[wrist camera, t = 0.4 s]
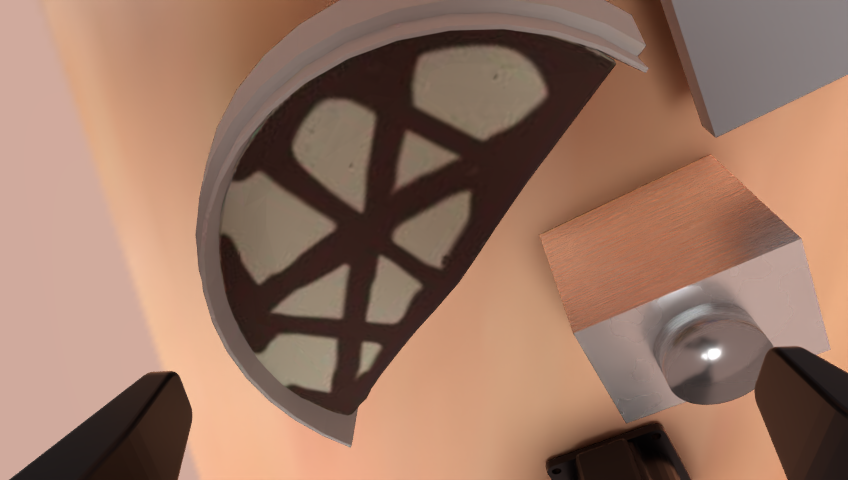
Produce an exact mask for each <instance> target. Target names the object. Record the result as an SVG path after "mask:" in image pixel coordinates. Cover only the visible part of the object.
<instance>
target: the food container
mask: <svg viewBox="0 0 848 480" xmlns="http://www.w3.org/2000/svg"><path fill="white" fill-rule="evenodd" d="M645 46H646V44H645V42H644V40H643V38H642V36H641V34H640V32H639V29H638V27H637V25H636V23H635V21H634V19H633V17H632V15H631V14H629V13H627V12H625V11H623V10H621V9H620V8H618V7H616V6H614V5H612V4H611V3H609V2H607V1H605V0H339V1H338V2H336V3H334V4H333V5H331V6H329V7H328V8H326V9H324V10H323V11H321V12H319V13H318V14H316V15H314V16H313V17H311V18H309V19H308V20H306V21H304V22H303V23H301V24H299V25H298V26H297V27H296V28H295V29H294V30H292V31H291V32H290V33H289V34H288V35H287V36H286V37H284V38H283V39H282V40H281V41H280V42H279V43H278V44H276V45H275V46H274V47H273V48H272V49H271V50H270V51H268V52H267V53H266V54H265V55H264V56H263V57H262V58H261V60H260V61H259V62H258V64H257V65H256V66H255V67H254V69H253V70H252V71H251V72H250V74H249V75H248V76H247V77H246V79H245V80H244V81H243V83H242V84H241V85H240V86H239V88H238V89H237V90H236V92H235V94H234V96H233V98H232V100H231V102H230V103H229V105H228V107H227V109H226V111H225V113H224V115H223V117H222V119H221V121H220V123H219V125H218V127H217V129H216V133H215V136H214V140H213V143H212V146H211V150H210V153H209V156H208V160H207V163H206V167H205V172H204V177H203V182H202V187H201V192H200V197H199V207H198V217H197V226H196V244H197V255H198V266H199V272H200V276H201V279H202V285H203V292H204V295H205V299H206V302H207V306H208V309H209V313H210V316H211V319H212V323H213V325H214V327H215V329H216V331H217V333H218V335H219V337H220V339H221V341H222V343H223V345H224V347H225V349H226V351H227V352H228V354H229V355H230V356H231V358H232V359H233V361H234V362H235V363H236V365H237V366H238V367H239V369H240V370H241V371H242V373H243V374H244V376H245V377H246V378H247V379H248V380H249V381H250V382H251V383H252V384H253V385H254V386H255V387H256V388H257V389H258V390H259V391H260V392H261V393H262V394H263V395H264V396H265V397H266V398H267V399H268V400H269V401H270V402H271V403H273V404H274V405H275V406H277V407H278V408H279V409H281V410H282V411H283V412H285V413H286V414H287V415H289V416H290V417H291V418H293V419H294V420H295V421H297V422H299V423H301V424H303V425H304V426H306V427H308V428H310V429H312V430H313V431H315V432H317V433H319V434H320V435H322V436H324V437H327V438H329V439H331V440H334V441H336V442H338V443H341V444H343V445H346V446H348V447H351V446H352V440H353V434H354V428H355V422H356V416H357V409H358V407H359V405H360V404H361V403H362V402H363V401H364V400H365V399H366V398H367V396H368V394H369V392H370V390H371V388H372V387H373V385H374V384H375V382H376V381H377V380H378V378H379V377H380V375H381V374H382V373H383V371H384V370H385V369H386V368H387V366H388V365H389V364H390V362H391V361H392V360H393V359H394V357H395V356H396V355H397V353H398V352H399V351H400V350H401V348H402V347H403V346H404V345H405V344H406V342H407V341H408V340H409V339H410V338H411V336H412V335H413V334H414V333H415V332H416V330H417V329H418V328H419V327H420V326H421V325H422V324H423V323H424V322H425V321H426V319H427V318H428V317H429V316H430V315H431V314H432V313H433V312H434V311H435V310H436V308H437V307H438V306H439V305H440V304H441V303H442V301H443V300H444V299H445V298H446V297H447V296H448V294H449V293H450V292H451V291H452V290H453V289H454V288H455V286H456V285H457V284H458V283H459V282H460V280H461V279H462V277H463V276H464V274H465V273H466V271H467V270H468V269H469V267H470V266H471V264H472V263H473V261H474V260H475V258H476V257H477V255H478V254H479V252H480V251H481V249H482V248H483V246H484V245H485V243H486V242H487V240H488V239H489V237H490V236H491V234H492V232H493V231H494V229H495V228H496V226H497V225H498V224H499V222H500V221H501V219H502V218H503V216H504V215H505V213H506V212H507V211H508V209H509V208H510V206H511V205H512V203H513V202H514V200H515V199H516V198H517V196H518V195H519V193H520V192H521V190H522V189H523V188H524V186H525V185H526V183H527V182H528V180H529V179H530V178H531V176H532V175H533V174H534V172H535V171H536V170H537V168H538V167H539V166H540V164H541V163H542V162H543V160H544V159H545V158H546V156H547V155H548V154H549V152H550V151H551V150H552V149H553V147H554V146H555V145H556V143H557V142H558V141H559V139H560V138H561V137H562V135H563V134H564V133H565V131H566V130H567V129H568V127H569V126H570V125H571V123H572V122H573V121H574V119H575V118H576V117H577V115H578V114H579V113H580V111H581V110H582V109H583V107H584V106H585V105H586V103H587V102H588V101H589V99H590V98H591V97H592V95H593V94H594V93H595V91H596V90H597V89H598V87H599V86H600V85H601V83H602V82H603V81H604V79H605V78H606V77H607V76H608V74H609V73H610V72H611V70H612V69H613V68H614V66H615V65H616V63H615V61H614V60H613V59H612V58H614V59H616V60H618V61H621V62H623V63H625V64H627V65H629V66H632V67H634V68H636V69H638V70H640V71H643V72H645V73H646V72H647V70H648V69H649V68H648V67H647V66H646V65H645V64H644V63H643V62H642V61H641V60H640V59H639V58H638V57H637V56H638V55H639V54H640V53H641V52H642V50H643V49H644V48H645ZM608 56H610V57H612V58H610V57H608Z"/></svg>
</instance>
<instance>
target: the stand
mask: <svg viewBox="0 0 848 480" xmlns="http://www.w3.org/2000/svg"><path fill="white" fill-rule="evenodd" d="M660 1H661V4H662V7H663V10H664V13H665V16H666V19H667V22H668V25H669V28H670V31H671V34H672V37H673V40H674V43H675V46H676V49H677V52H678V55H679V58H680V61H681V64H682V67H683V70H684V73H685V76H686V79H687V82H688V85H689V88H690V91H691V94H692V97H693V100H694V103H695V106H696V109H697V112H698V115H699V118H700V121H701V124H702V126H703V127H704V128H705V129H706V130H708V131H709V132H710V133H711V134H712V135H713V136H715V137H718V136H720V135H723V134H725V133H727V132H729V131H731V130H733V129H735V128H737V127H739V126H741V125H743V124H745V123H748V122H750V121H752V120H754V119H756V118H758V117H760V116H762V115H764V114H766V113H768V112H771V111H773V110H775V109H777V108H779V107H781V106H783V105H785V104H787V103H789V102H791V101H794V100H796V99H798V98H800V97H802V96H804V95H806V94H808V93H810V92H812V91H814V90H816V89H819V88H821V87H823V86H825V85H827V84H829V83H831V82H833V81H835V80H837V79H839V78H842V77H844V76H846V75H848V0H660Z"/></svg>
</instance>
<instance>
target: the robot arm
mask: <svg viewBox="0 0 848 480" xmlns="http://www.w3.org/2000/svg"><path fill="white" fill-rule="evenodd" d="M754 392H755V399H756V402H757V405H758V408H759V410H760V412H761V415H762V417H763V420H764V422H765V425H766V427H767V430H768V432H769V435H770V437H771V440H772V442H773V445H774V447H775V450H776V452H777V454H778V457H779V459H780V462H781V464H782V467H783V469H784V472H785V474H786V477H787V479H788V480H848V373H847V372H845V371H843V370H842V369H840V368H838V367H836V366H835V365H833V364H831V363H829V362H828V361H826V360H824V359H822V358H821V357H819V356H817V355H815V354H813V353H812V352H810V351H808V350H806V349H804V348H802V347H799V346H782V347H773V348H770V349H769V350H768V351H767V353H766V355H765V358H764V360H763V363H762V366H761V369H760V372H759V375H758V378H757V381H756V384H755V391H754ZM191 423H192V409H191V405H190V403H189V400H188V397H187V395H186V392H185V389H184V387H183V384H182V381H181V379H180V377H179V375H178V374H177V373H176V372H173V371H162V372H150V373H147V374H146V375H144V376H143V377H141V378H140V379H139V380H137V381H136V382H135V383H134V384H132V385H131V386H130V387H128V388H127V389H126V390H125V391H123V392H122V393H121V394H119V395H118V396H117V397H116V398H114V399H113V400H112V401H110V402H109V403H108V404H106V405H105V406H104V407H103V408H101V409H100V410H99V411H97V412H96V413H95V414H93V415H92V416H91V417H90V418H88V419H87V420H86V421H85V422H83V423H82V424H81V425H79V426H78V427H77V428H75V429H74V430H73V431H72V432H70V433H69V434H68V435H66V436H65V437H64V438H63V439H61V440H60V441H59V442H57V443H56V444H55V445H54V446H52V447H51V448H50V449H48V450H47V451H46V452H45V453H44V454H42V455H41V456H39V457H38V458H37V459H35V460H34V461H33V462H31V463H30V464H29V465H28V466H26V467H25V468H24V469H23V470H21V471H20V472H19V473H17V474H16V475H15V476H13V477H12V478H11V479H10V480H178V476H179V473H180V468H181V464H182V460H183V456H184V452H185V448H186V444H187V440H188V436H189V432H190V428H191ZM546 469H547V473H548V475H549V476H550V478H551V479H552V480H691V478H690V476H689V474H688V472H687V471H686V469H685V467H684V465H683V463H682V461H681V459H680V457H679V456H678V454H677V452H676V450H675V448H674V446H673V444H672V443H671V441H670V439H669V437H668V435H667V433H666V431H665V430H664V428H663V426H662V425H660V424H650V425H648V426H645V427H642V428H639V429H636V430H634V431H631V432H628V433H625V434H622V435H620V436H617V437H614V438H611V439H608V440H606V441H603V442H600V443H597V444H594V445H591V446H589V447H586V448H583V449H580V450H577V451H575V452H572V453H569V454H566V455H563V456H561V457H558V458H555V459H552V460H550V461H548V462H547V463H546Z"/></svg>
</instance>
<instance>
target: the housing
mask: <svg viewBox="0 0 848 480" xmlns="http://www.w3.org/2000/svg"><path fill="white" fill-rule="evenodd" d="M539 236H540V239H541V242H542V244H543V247H544V250H545V253H546V256H547V259H548V262H549V265H550V268H551V270H552V273H553V276H554V279H555V282H556V285H557V288H558V291H559V293H560V296H561V299H562V302H563V305H564V308H565V311H566V314H567V316H568V319H569V322H570V325H571V328H572V331H573V334H574V335H575V337H576V339H577V340H578V342H579V344H580V346H581V347H582V349H583V351H584V352H585V354H586V356H587V357H588V359H589V361H590V363H591V364H592V366H593V368H594V369H595V371H596V373H597V374H598V376H599V378H600V380H601V381H602V383H603V385H604V386H605V388H606V390H607V392H608V393H609V395H610V397H611V398H612V400H613V402H614V403H615V405H616V407H617V409H618V410H619V412H620V414H621V415H622V417H623V419H624V420H625V422H626V423H629V422H632V421H634V420H637V419H640V418H643V417H645V416H648V415H651V414H654V413H657V412H659V411H662V410H665V409H668V408H670V407H673V406H676V405H679V404H681V403H684V402H690V403H694V404H701V405H710V404H719V403H724V402H728V401H731V400H734V399H737V398H739V397H741V396H744V395H746V394H747V393H749V392H751V391H752V390H754V389H755V384H756V381H757V378H758V375H759V372H760V369H761V366H762V363H763V360H764V358H765V355H766V353H767V351H768V350H769V349H770V348H773V347H782V346H799V347H802V348H804V349H806V350H808V351H810V352H812V353H813V354H815V355H817V354H820V353H822V352H825V351H828V350H831V349H830V345H829V341H828V337H827V334H826V330H825V326H824V322H823V319H822V315H821V311H820V307H819V303H818V300H817V296H816V292H815V288H814V284H813V281H812V277H811V273H810V269H809V265H808V262H807V258H806V254H805V250H804V247H803V243H802V239H801V238H800V237H799V236H798V235H797V234H796V233H795V232H794V231H793V230H792V229H790V228H789V227H788V226H787V225H786V224H785V223H784V222H783V221H782V220H781V219H780V218H779V217H778V216H776V215H775V214H774V213H773V212H772V211H771V210H770V209H769V208H768V207H767V206H766V205H765V204H764V203H762V202H761V201H760V200H759V199H758V198H757V197H756V196H755V195H754V194H753V193H752V192H751V191H750V190H749V189H747V188H746V187H745V186H744V185H743V184H742V183H741V182H740V181H739V180H738V179H737V178H736V177H735V176H733V175H732V174H731V173H730V172H729V171H728V170H727V169H726V168H725V167H724V166H723V165H722V164H721V163H719V162H718V161H717V160H716V159H715V158H714V157H713V156H712V155H711V154H710V155H708V156H705V157H703V158H701V159H699V160H697V161H695V162H693V163H691V164H689V165H686V166H684V167H682V168H680V169H678V170H676V171H674V172H672V173H669V174H667V175H665V176H663V177H661V178H659V179H657V180H655V181H653V182H650V183H648V184H646V185H644V186H642V187H640V188H638V189H636V190H633V191H631V192H629V193H627V194H625V195H623V196H621V197H619V198H617V199H614V200H612V201H610V202H608V203H606V204H604V205H602V206H600V207H598V208H595V209H593V210H591V211H589V212H587V213H585V214H583V215H581V216H578V217H576V218H574V219H572V220H570V221H568V222H566V223H564V224H562V225H559V226H557V227H555V228H553V229H551V230H549V231H547V232H545V233H542V234H540V235H539Z"/></svg>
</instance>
